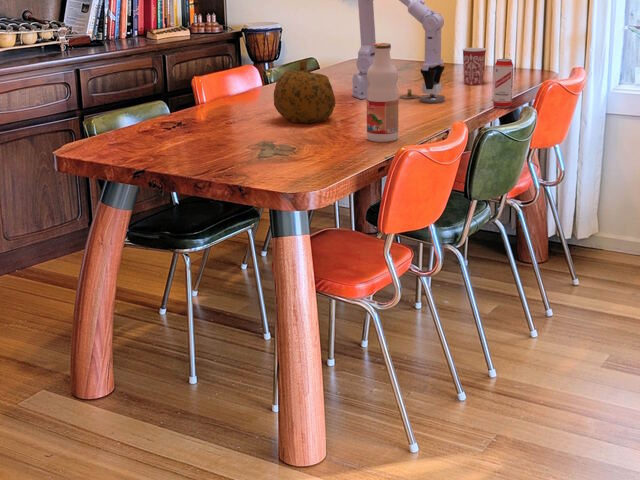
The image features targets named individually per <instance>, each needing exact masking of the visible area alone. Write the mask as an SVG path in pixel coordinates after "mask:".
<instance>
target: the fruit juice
mask: <svg viewBox="0 0 640 480" xmlns="http://www.w3.org/2000/svg"><path fill="white" fill-rule="evenodd" d="M391 49H392V46H391V43H388V42H380V43H379V42H378V43H377V42H376V44H374V50H375V57H374V60H373V63H372V65H371V66H370V67H369V69H368V71H367V80H368V84H369V86H368V89H367V97H366V138H367V140H368V141H371V142H376V143H387V142H388V143H389V142H394V141H397V140H398V139H399V99H400V95H399V88H398V86H397V83H398V78H399V72H398V69H397V67H396V66H395V65H394V63H393V61H392V57H391Z"/></svg>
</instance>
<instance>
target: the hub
mask: <svg viewBox="0 0 640 480" xmlns="http://www.w3.org/2000/svg"><path fill="white" fill-rule="evenodd" d="M445 101H446V96H445V95H441V94H436V95H435V94H423V95H419V103H423V104H440V103H441V104H442V103H444V102H445Z"/></svg>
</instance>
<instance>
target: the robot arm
mask: <svg viewBox="0 0 640 480" xmlns="http://www.w3.org/2000/svg"><path fill="white" fill-rule="evenodd" d="M398 1H399V2H401V4H403V5H405V7H407V13H408V14H410V15H411V16H412V17H413V18H414V19H415V20H416V21H418V22H419V23H420V24H421V26H422V28H423V30H424V61H423V64H422V65H421V67H422V68H421V69H420V73H421V75H422V78H423V81H424V83H425V86H426V89H432V88H433V83H434V82H441V78H442V75H443V72H444V70H445V67H446V66H445V65H444V64H445V62H444V60H443V58H442V28H443V27H444V25H445V24H444V23H445V20H444V17H443V16H442V15H441V14H440V13H438V12H435V9H431V8H430V7H429V6H428V5H426V4H425V3H426V2H425V0H398ZM357 2H358V4H357V5H358V19H359V20H358V21H359V36H360V48H359V50H358V51H357V59H356V64H355V65H356V68H357V70H358V71H359V72H358V73H353V75H352V94H351V96H352V97H354V98H357V99H359V100H363V99H365V100H367V98H366V97H367V89H368V86H369V84H368V80H367V71H368V69H369V67H370V66H371V65H372V63H373V60H374V57H375V50H374V44H377V41H376V28H375V27H376V25H375V11H374V0H357Z"/></svg>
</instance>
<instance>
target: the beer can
mask: <svg viewBox="0 0 640 480" xmlns="http://www.w3.org/2000/svg"><path fill="white" fill-rule="evenodd" d="M512 60H513V59H510V58H499V59H496V62H495V63H494V75H493V95H492V96H493V97H492V98H493V101H492V104H493V106H494V107H495V108H497V109H508V108H510V107H511V106H512V104H513V83H514V81H513V79H514V77H513V76H514V64H513V61H512Z"/></svg>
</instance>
